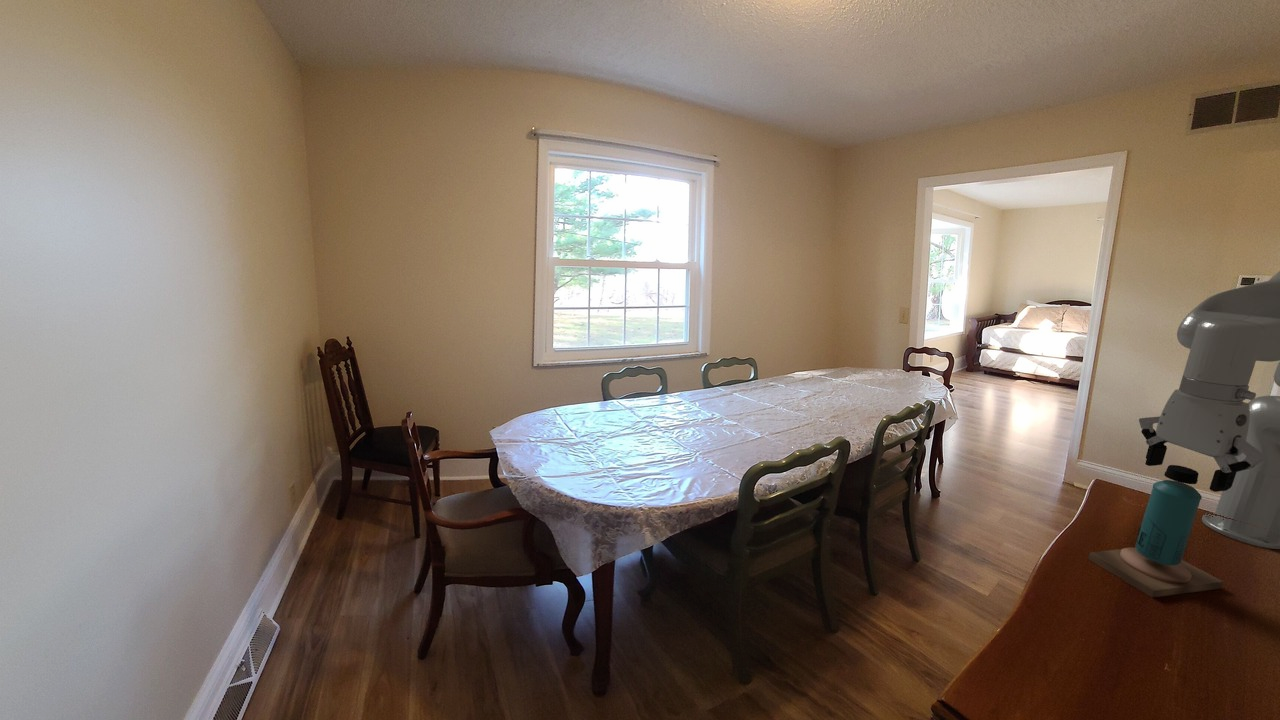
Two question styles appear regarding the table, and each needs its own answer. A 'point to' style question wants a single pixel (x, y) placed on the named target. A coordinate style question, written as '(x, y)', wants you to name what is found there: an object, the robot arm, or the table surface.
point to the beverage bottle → (1169, 517)
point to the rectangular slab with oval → (1154, 573)
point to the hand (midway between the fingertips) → (1184, 477)
